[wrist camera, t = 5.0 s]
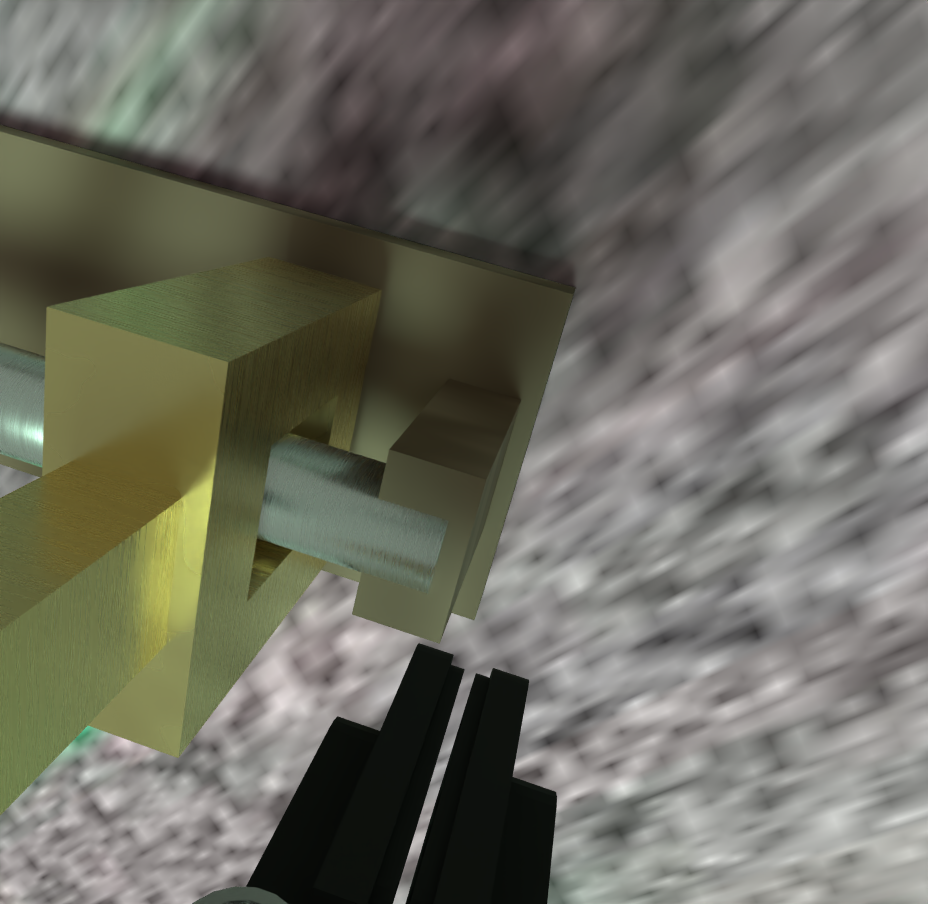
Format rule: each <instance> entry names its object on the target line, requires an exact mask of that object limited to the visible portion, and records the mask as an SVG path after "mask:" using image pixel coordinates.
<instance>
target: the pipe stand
mask: <svg viewBox="0 0 928 904" xmlns="http://www.w3.org/2000/svg"><path fill="white" fill-rule="evenodd" d="M266 257H271V258H275V259H278V260H282V261H285V262H289V263H292V264H295V265H299V266H302V267H306V268H309V269H313V270H316V271H320V272H323V273H326V274H330V275H333V276H337V277H340V278H344V279H347V280H350V281H354V282H357V283H361V284H364V285H368V286H371V287H375V288H378V289H381V290H382V293H381V298H380V303H379V308H378V313H377V318H376V323H375V328H374V333H373V338H372V342H371V347H370V352H369V357H368V362H367V367H366V372H365V377H364V382H363V387H362V392H361V397H360V402H359V407H358V412H357V417H356V422H355V426H354V431H353V436H352V441H351V446H350V451H349V452H352V453H355V454H359V455H362V456H365V457H368V458H371V459H375V460H378V461H381V462H384V463H386V466H385V470H384V475H383V479H382V484H381V488H380V492H379V497H378V499H381V500H384V501H388V502H391V503H394V504H397V505H400V506H403V507H406V508H410V509H413V510H416V511H419V512H422V513H425V514H428V515H432V516H435V517H438V518H441V519H444V520H447V521H448V525H447V529H446V532H445V536H444V540H443V543H442V547H441V551H440V555H439V558H438V562H437V566H436V569H435V573H434V577H433V580H432V584H431V588H430V592H429V594H428V593H425V592H422V591H419V590H416V589H412V588H409V587H406V586H403V585H400V584H397V583H394V582H391V581H388V580H385V579H382V578H379V577H376V576H373V575H370V574H367V573H364V572H359V571H356V570H353V569H350V568H347V567H344V566H340V565H337V564H334V563H331V562H328V561H327V563H326V564H325V565H324V567H323V568H322V569H321V570H323V571H326V572H329V573H332V574H336V575H339V576H342V577H345V578H348V579H351V580H354V581H357V582H359V586H358V590H357V595H356V599H355V604H354V608H353V612H352V614H353V615H356V616H359V617H362V618H365V619H368V620H371V621H374V622H377V623H380V624H383V625H386V626H389V627H392V628H395V629H398V630H401V631H404V632H407V633H410V634H413V635H416V636H419V637H422V638H424V639H427V640H430V641H433V642H436V643H439V644H440V641H441V638H442V636H443V633H444V630H445V628H446V625H447V623H448V620H449V617H450V615H451V613H454V614H457V615H460V616H463V617H466V618H469V619H472V620H474V619H475V616H476V613H477V610H478V607H479V604H480V601H481V598H482V594H483V591H484V588H485V585H486V581H487V578H488V575H489V571H490V568H491V565H492V562H493V558H494V555H495V552H496V548H497V545H498V542H499V539H500V535H501V532H502V529H503V525H504V522H505V519H506V515H507V512H508V509H509V506H510V502H511V499H512V496H513V492H514V489H515V486H516V483H517V479H518V476H519V473H520V469H521V466H522V463H523V460H524V456H525V453H526V450H527V446H528V443H529V440H530V437H531V433H532V430H533V427H534V423H535V420H536V417H537V413H538V410H539V407H540V404H541V400H542V397H543V394H544V390H545V387H546V384H547V381H548V377H549V374H550V371H551V367H552V364H553V361H554V358H555V354H556V351H557V348H558V344H559V341H560V338H561V335H562V331H563V328H564V325H565V321H566V318H567V315H568V311H569V308H570V305H571V302H572V298H573V295H574V292H575V288H574V287H571V286H567V285H564V284H560V283H557V282H553V281H550V280H546V279H543V278H539V277H536V276H532V275H529V274H525V273H521V272H518V271H514V270H511V269H507V268H504V267H500V266H497V265H493V264H490V263H486V262H483V261H479V260H476V259H472V258H469V257H465V256H462V255H458V254H454V253H451V252H447V251H444V250H440V249H437V248H433V247H430V246H426V245H423V244H419V243H416V242H412V241H409V240H405V239H402V238H398V237H395V236H391V235H387V234H384V233H380V232H377V231H373V230H370V229H366V228H363V227H359V226H356V225H352V224H349V223H345V222H342V221H338V220H335V219H331V218H328V217H324V216H320V215H317V214H313V213H310V212H306V211H303V210H299V209H296V208H292V207H289V206H285V205H282V204H278V203H275V202H271V201H268V200H264V199H261V198H257V197H253V196H250V195H246V194H243V193H239V192H236V191H232V190H229V189H225V188H222V187H218V186H215V185H211V184H208V183H204V182H201V181H197V180H194V179H190V178H186V177H183V176H179V175H176V174H172V173H169V172H165V171H162V170H158V169H155V168H151V167H148V166H144V165H141V164H137V163H134V162H130V161H127V160H123V159H119V158H116V157H112V156H109V155H105V154H102V153H98V152H95V151H91V150H88V149H84V148H81V147H77V146H74V145H70V144H67V143H63V142H60V141H56V140H52V139H49V138H45V137H42V136H38V135H35V134H31V133H28V132H24V131H21V130H17V129H14V128H10V127H7V126H3V125H0V342H1V343H4V344H7V345H11V346H14V347H17V348H20V349H23V350H26V351H30V352H33V353H36V354H39V355H42V356H45V350H46V312H47V306H52V305H56V304H61V303H65V302H70V301H74V300H79V299H83V298H87V297H92V296H96V295H101V294H105V293H110V292H114V291H119V290H123V289H128V288H132V287H136V286H141V285H145V284H150V283H154V282H159V281H163V280H168V279H172V278H177V277H181V276H185V275H190V274H194V273H199V272H203V271H208V270H212V269H217V268H221V267H226V266H230V265H235V264H239V263H243V262H248V261H252V260H257V259H261V258H266ZM0 464H2V465H5V466H8V467H11V468H14V469H17V470H20V471H23V472H26V473H29V474H32V475H35V476H38V477H42V467H39V466H36V465H33V464H30V463H27V462H24V461H21V460H17V459H14V458H11V457H8V456H5V455H2V454H0Z"/></svg>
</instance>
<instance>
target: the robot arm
mask: <svg viewBox="0 0 928 904" xmlns="http://www.w3.org/2000/svg"><path fill="white" fill-rule="evenodd" d="M452 659H453V654H450V653H447V652H444V651H441V650H438V649H435V648H432V647H429V646H426V645H423V644H420V643H419V644H418V645H417V647H416V649H415V651H414V654H413V656H412V658H411V661H410V663H409V665H408V668H407V670H406V672H405V675H404V677H403V679H402V682H401V684H400V686H399V689H398V691H397V693H396V695H395V698H394V700H393V702H392V705H391V707H390V709H389V712H388V714H387V716H386V719H385V721H384V723H383V726H382V728H381V730H380V731H378V730H375V729H372V728H370V727H367V726H364V725H361V724H358V723H355V722H352V721H349V720H346V719H344V718H341V717H338V716H337V718H336V719H335V720H334V721H333V723H332V725H331V726H330V728H329V730H328V732H327V734H326V736H325V737H324V739H323V741H322V743H321V745H320V747H319V749H318V751H317V753H316V755H315V756H314V758H313V760H312V762H311V764H310V766H309V768H308V770H307V772H306V774H305V775H304V777H303V779H302V781H301V783H300V785H299V787H298V789H297V791H296V793H295V795H294V796H293V798H292V800H291V802H290V804H289V806H288V808H287V810H286V812H285V814H284V815H283V817H282V819H281V821H280V823H279V825H278V827H277V829H276V831H275V833H274V834H273V836H272V838H271V840H270V842H269V844H268V846H267V848H266V850H265V852H264V854H263V855H262V857H261V859H260V861H259V863H258V865H257V867H256V869H255V871H254V873H253V874H252V876H251V878H250V880H249V882H248V884H247V886H246V887H237V886H235V887H231V888H226V889H222V890H218V891H214V892H212V893H210V894H208V895H206V896H205V897H203V898H201V899H199V900H197V901H195V902H194V903H192V904H393V901H394V898H395V895H396V891H397V888H398V885H399V882H400V879H401V875H402V872H403V869H404V866H405V863H406V859H407V856H408V853H409V850H410V846H411V843H412V840H413V837H414V834H415V830H416V827H417V824H418V821H419V817H420V814H421V811H422V808H423V804H424V801H425V798H426V795H427V791H428V788H429V785H430V781H431V778H432V775H433V772H434V768H435V765H436V762H437V758H438V755H439V752H440V749H441V745H442V742H443V739H444V735H445V732H446V729H447V726H448V722H449V719H450V716H451V712H452V709H453V706H454V703H455V699H456V696H457V693H458V689H459V686H460V683H461V680H462V676H463V673H464V670H465V669H462V668H459V667H456V666H453V665H451V663H452ZM528 685H529V680H528V679H525V678H522V677H519V676H516V675H513V674H510V673H507V672H504V671H501V670H498V669H495V668H493V669H492V672H491V675H490V678H489V677H486V676H483V675H480V674H477V673H476V675H475V678H474V681H473V684H472V688H471V691H470V694H469V697H468V700H467V704H466V707H465V710H464V713H463V716H462V720H461V723H460V726H459V729H458V732H457V736H456V739H455V742H454V745H453V748H452V752H451V755H450V758H449V761H448V764H447V768H446V771H445V774H444V777H443V780H442V784H441V787H440V790H439V793H438V796H437V800H436V803H435V806H434V809H433V813H432V816H431V819H430V822H429V826H428V829H427V833H426V836H425V839H424V843H423V846H422V850H421V853H420V856H419V860H418V863H417V867H416V870H415V873H414V877H413V880H412V884H411V887H410V891H409V894H408V897H407V901H406V904H547V899H548V889H549V878H550V868H551V858H552V848H553V838H554V827H555V817H556V807H557V795H556V792H555V791H552V790H549V789H546V788H543V787H540V786H537V785H534V784H531V783H529V782H526V781H523V780H520V779H517V778H514V777H512V776H513V770H514V765H515V759H516V753H517V748H518V742H519V736H520V731H521V725H522V719H523V714H524V708H525V702H526V697H527V691H528Z"/></svg>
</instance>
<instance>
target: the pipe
mask: <svg viewBox="0 0 928 904" xmlns="http://www.w3.org/2000/svg"><path fill="white" fill-rule="evenodd" d="M44 389H45V356H42V355H39V354H36V353H33V352H30V351H26V350H23V349H20V348H17V347H14V346H11V345H7V344H4V343H1V342H0V454H2V455H5V456H8V457H11V458H14V459H17V460H21V461H24V462H27V463H30V464H33V465H36V466H39V467H42V465H43V427H44ZM385 466H386V463H384V462H381V461H378V460H375V459H371V458H368V457H365V456H362V455H359V454H355V453H352V452H349V451H346V450H343V449H340V448H336V447H333V446H330V445H327V444H324V443H320V442H317V441H314V440H311V439H308V438H304V437H301V436H298V435H295V434H292V433H287V434H286V435H284V436H283V437H282V438H281V439H279V440H278V441H277V442H275V443H274V444H273V445H271V451H270V457H269V463H268V470H267V476H266V482H265V489H264V495H263V502H262V508H261V514H260V521H259V527H258V533H257V538H258V539H261V540H264V541H267V542H270V543H273V544H276V545H280V546H283V547H286V548H289V549H292V550H295V551H298V552H301V553H304V554H307V555H310V556H313V557H316V558H319V559H322V560H325V561H328V562H331V563H334V564H337V565H340V566H344V567H347V568H350V569H353V570H356V571H359V572H364V573H367V574H370V575H373V576H376V577H379V578H382V579H385V580H388V581H391V582H394V583H397V584H400V585H403V586H406V587H409V588H412V589H416V590H419V591H422V592H425V593H428V594H429V592H430V588H431V584H432V580H433V577H434V573H435V569H436V566H437V562H438V558H439V555H440V551H441V547H442V543H443V540H444V536H445V532H446V529H447V525H448V521H447V520H444V519H441V518H438V517H435V516H432V515H428V514H425V513H422V512H419V511H416V510H413V509H410V508H406V507H403V506H400V505H397V504H394V503H391V502H388V501H384V500H381V499H378V497H379V492H380V488H381V484H382V479H383V475H384V470H385Z"/></svg>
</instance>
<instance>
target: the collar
mask: <svg viewBox="0 0 928 904" xmlns="http://www.w3.org/2000/svg"><path fill="white" fill-rule="evenodd" d="M381 293H382V290H381V289H378V288H375V287H371V286H368V285H364V284H361V283H357V282H354V281H350V280H347V279H344V278H340V277H337V276H333V275H330V274H326V273H323V272H320V271H316V270H313V269H309V268H306V267H302V266H299V265H295V264H292V263H289V262H285V261H282V260H278V259H275V258H271V257H266V258H261V259H257V260H252V261H248V262H243V263H239V264H235V265H230V266H226V267H221V268H217V269H212V270H208V271H203V272H199V273H194V274H190V275H185V276H181V277H177V278H172V279H168V280H163V281H159V282H154V283H150V284H145V285H141V286H136V287H132V288H128V289H123V290H119V291H114V292H110V293H105V294H101V295H96V296H92V297H87V298H83V299H79V300H74V301H70V302H65V303H61V304H56V305H52V306H47V312H46V350H45V389H44V427H43V465H42V477H40V478H38V479H36V480H34V481H32V482H30V483H29V484H27V485H25V486H23V487H21V488H19V489H17V490H15V491H13V492H11V493H9V494H7V495H5V496H3V497H1V498H0V815H1V814H2V813H3V812H4V811H5V810H6V809H7V808H8V807H9V806H10V805H11V804H12V803H13V802H14V801H15V800H16V799H17V798H18V797H19V796H20V795H21V794H22V793H23V792H24V791H25V790H26V788H27V787H28V786H29V785H30V784H31V783H32V782H33V781H34V780H35V779H36V778H37V777H38V776H39V775H40V774H41V773H42V772H43V771H44V770H45V769H46V768H47V767H48V766H49V765H50V764H51V763H52V762H53V761H54V760H55V759H56V758H57V757H58V755H59V754H60V753H61V752H62V751H63V750H64V749H65V748H66V747H67V746H68V745H69V744H70V743H71V742H72V741H73V740H74V739H75V738H76V737H77V736H78V735H79V734H80V733H81V732H82V731H83V730H84V729H85V728H86V727H87V726H91V727H94V728H97V729H99V730H102V731H105V732H108V733H111V734H113V735H116V736H119V737H122V738H124V739H127V740H130V741H133V742H135V743H138V744H141V745H144V746H147V747H149V748H152V749H155V750H158V751H160V752H163V753H166V754H169V755H172V756H174V757H177V758H179V756H180V755H181V754H182V752H183V751H184V750H185V748H186V747H187V746H188V745H189V743H190V742H191V741H192V739H193V738H194V737H195V735H196V734H197V733H198V731H199V730H200V729H201V727H202V726H203V725H204V723H205V722H206V721H207V720H208V718H209V717H210V716H211V714H212V713H213V712H214V710H215V709H216V708H217V706H218V705H219V704H220V702H221V701H222V700H223V698H224V697H225V696H226V694H227V693H228V692H229V691H230V689H231V688H232V687H233V685H234V684H235V683H236V681H237V680H238V679H239V677H240V676H241V675H242V673H243V672H244V671H245V669H246V668H247V667H248V665H249V664H250V663H251V662H252V660H253V659H254V658H255V656H256V655H257V654H258V652H259V651H260V650H261V648H262V647H263V646H264V644H265V643H266V642H267V640H268V639H269V638H270V637H271V635H272V634H273V633H274V631H275V630H276V629H277V627H278V626H279V625H280V623H281V622H282V621H283V619H284V618H285V617H286V615H287V614H288V613H289V611H290V610H291V609H292V608H293V606H294V605H295V604H296V602H297V601H298V600H299V598H300V597H301V596H302V594H303V593H304V592H305V590H306V589H307V588H308V586H309V585H310V584H311V583H312V581H313V580H314V579H315V577H316V576H317V575H318V573H319V572H320V571H321V569H322V568H323V567H324V565H325V564H326V563H327V561H325V560H322V559H319V558H316V557H313V556H310V555H307V554H304V553H301V552H298V551H295V550H292V549H289V548H286V547H283V546H280V545H276V544H273V543H270V542H267V541H264V540H261V539H258V538H257V533H258V527H259V521H260V514H261V508H262V502H263V495H264V489H265V482H266V476H267V470H268V463H269V457H270V451H271V445H273V444H274V443H275V442H277V441H278V440H279V439H281V438H282V437H283V436H284V435H286V434H287V433H292V434H295V435H298V436H301V437H304V438H308V439H311V440H314V441H317V442H320V443H324V444H327V445H330V446H333V447H336V448H340V449H343V450H346V451H350V446H351V441H352V436H353V431H354V426H355V422H356V417H357V412H358V407H359V402H360V397H361V392H362V387H363V382H364V377H365V372H366V367H367V362H368V357H369V352H370V347H371V342H372V338H373V333H374V328H375V323H376V318H377V313H378V308H379V303H380V298H381Z"/></svg>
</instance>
